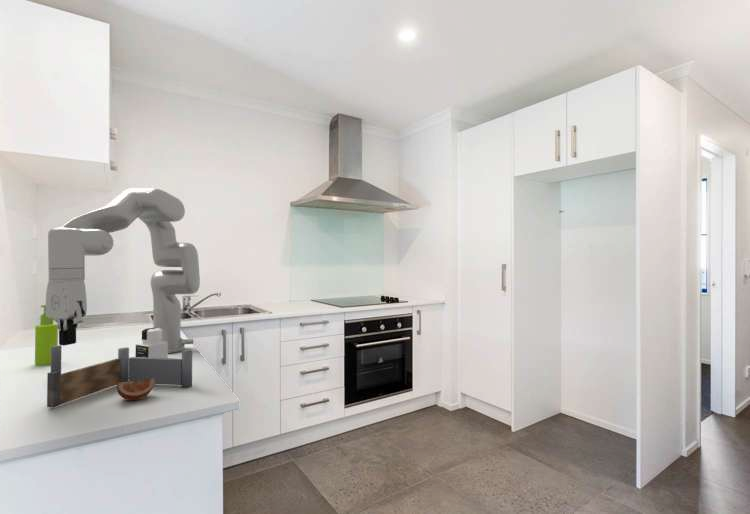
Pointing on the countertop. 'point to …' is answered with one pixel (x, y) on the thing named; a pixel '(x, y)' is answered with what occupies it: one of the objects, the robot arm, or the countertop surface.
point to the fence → (145, 367)
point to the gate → (81, 382)
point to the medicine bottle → (152, 344)
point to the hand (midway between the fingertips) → (67, 344)
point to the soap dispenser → (45, 339)
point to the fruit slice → (135, 388)
